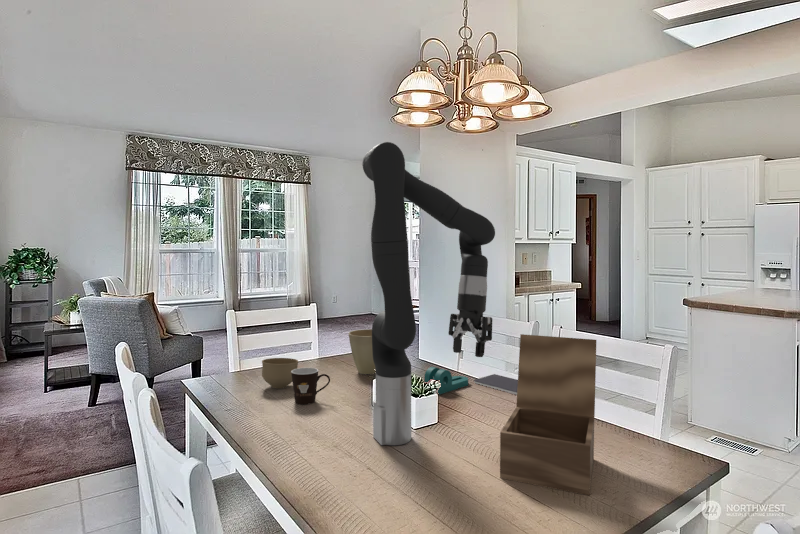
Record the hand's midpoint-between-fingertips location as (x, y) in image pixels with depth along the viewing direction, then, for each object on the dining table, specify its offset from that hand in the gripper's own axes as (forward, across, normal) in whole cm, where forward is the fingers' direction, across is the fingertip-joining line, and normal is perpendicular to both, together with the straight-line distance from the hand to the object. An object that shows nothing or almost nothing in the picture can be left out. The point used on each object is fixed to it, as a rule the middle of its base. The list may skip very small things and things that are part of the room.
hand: (467, 354), depth 127 cm
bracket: (+16, -37, +26) cm, 48 cm away
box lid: (+2, +19, +12) cm, 22 cm away
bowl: (+21, -71, -23) cm, 77 cm away
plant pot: (+16, -70, +12) cm, 73 cm away
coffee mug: (+22, -50, -21) cm, 58 cm away
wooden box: (+22, +24, +5) cm, 33 cm away
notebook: (+14, -26, +44) cm, 53 cm away
